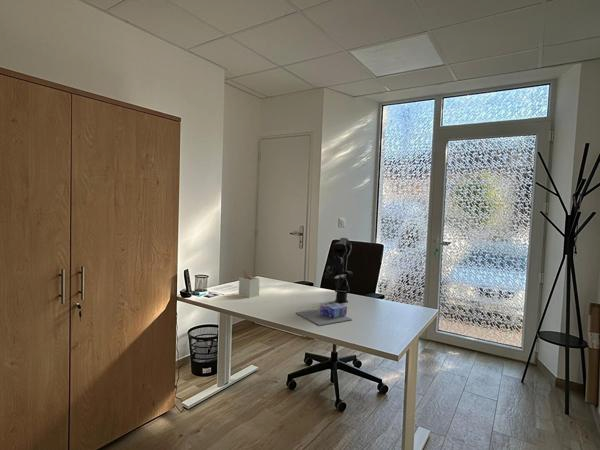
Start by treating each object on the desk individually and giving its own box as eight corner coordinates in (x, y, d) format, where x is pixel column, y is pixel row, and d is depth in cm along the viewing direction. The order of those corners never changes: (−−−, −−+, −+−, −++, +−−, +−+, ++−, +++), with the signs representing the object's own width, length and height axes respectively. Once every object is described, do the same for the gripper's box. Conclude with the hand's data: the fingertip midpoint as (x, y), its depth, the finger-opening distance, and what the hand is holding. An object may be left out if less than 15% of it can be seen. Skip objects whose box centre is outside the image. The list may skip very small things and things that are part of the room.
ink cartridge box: (347, 305, 203) (328, 310, 194) (347, 315, 204) (328, 320, 195) (335, 302, 211) (317, 306, 202) (335, 311, 211) (316, 315, 202)
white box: (248, 293, 251) (248, 270, 250) (258, 296, 244) (259, 272, 243) (238, 295, 244) (239, 271, 243) (249, 298, 237) (250, 274, 236)
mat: (326, 308, 217) (326, 307, 217) (351, 320, 197) (351, 319, 197) (295, 313, 206) (295, 312, 206) (319, 326, 185) (319, 324, 185)
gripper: (342, 260, 229) (341, 284, 230) (319, 262, 219) (318, 287, 220) (353, 263, 220) (352, 288, 221) (330, 265, 210) (329, 291, 211)
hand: (338, 288), depth 219 cm, fingers closed
